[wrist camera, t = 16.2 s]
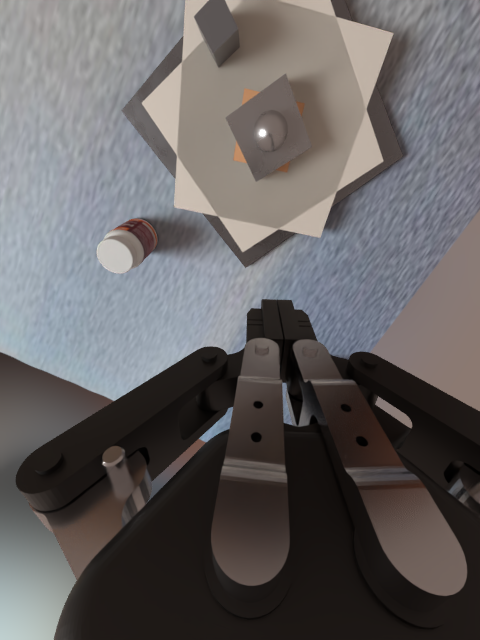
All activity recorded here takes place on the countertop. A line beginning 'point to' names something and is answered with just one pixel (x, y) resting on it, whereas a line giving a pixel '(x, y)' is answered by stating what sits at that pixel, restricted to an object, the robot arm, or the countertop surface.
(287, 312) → the robot arm
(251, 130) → the cover
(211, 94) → the turntable
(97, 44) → the countertop surface
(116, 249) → the pill bottle
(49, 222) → the countertop surface
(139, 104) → the base
